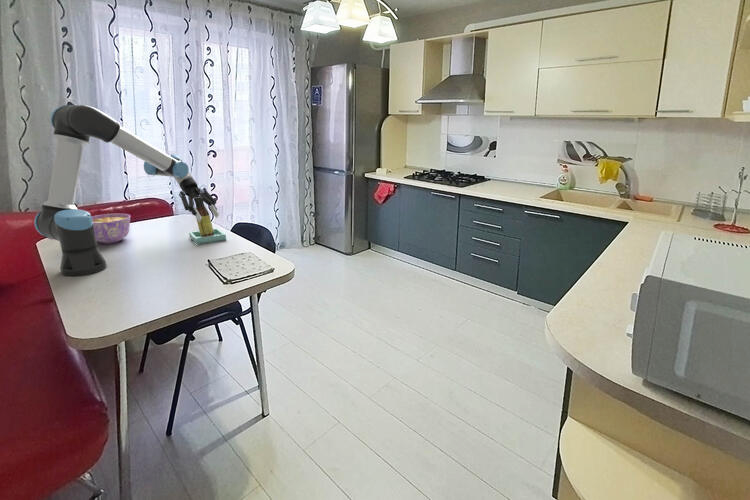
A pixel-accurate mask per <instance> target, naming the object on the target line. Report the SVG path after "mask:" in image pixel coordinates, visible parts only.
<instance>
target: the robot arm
mask: <svg viewBox="0 0 750 500" xmlns="http://www.w3.org/2000/svg"><path fill="white" fill-rule="evenodd" d="M50 123H51V125H52V127H53V129H54V130H53V137H54V138H55V139H56V141H57V142H56V148H55V155H54V161H53V165H52V166H53V168H52V174H51V179H50V184H49V192H48V197H47V198H48V199H47V200H46V201H45V202H42V205H41V210H40V211H39V212H38V213H37V214H36V215H35V217H34V220H33V221H34V222H33V223H34V227H35V230H36V231H37V232H38V233H39V234H40V235H41V236H43V237H44V238H47V239H49V240H55V241H58V242H59V244H60V249H61V252H62V253H61V254H62V255H61V261H60V266H59V269H60V273H61V275H62V276H66V277H79V276H87V275H92V274H95V273H98V272H100V271H103V270H105V269H106V268H107V261H106V259H105V257H104V256H103V254H102V253H101V250H99V248H98V241H96V236H95V231H94V226H93V220H92V217H91V216H92V215H91V213H90V212H89V211H87V210H84V209H78V207H77V206H76V204H75V201H76V196H77V191H78V184H79V178H80V177H79V176H80V171H81V165H82V160H83V159H82V157H83V152H84V147H85V146H87V145H88V144H89V143H90V137H91V138H96V139H97V140H101V141H102V142H104V143H107V144H109V143H111V144H113V145H115V146H117V147H118V148H119V149H120V148H121V149H122V150H124V151H126V152H127V153H129V154H131V155H133V156H135V157H137V158H138V159H141V160H142V161H144V162H143V170H144V172H145V174H147V175H148V176H162V177H170V178H171V177H173V179H174V180H175V182H176V183H177V185H178V186H179V187H180V189H181V190H180V191H179V194H178V196H179V197H180V199H181V201H182V204H183V207H184V210H185V211H188V212H191V214H192V216H194V217H195V219H196V218H197V219H196V221H197V220H198V221H199V222H200V221H201V219H202V217H201V215H200V214H199V212H198V211H197V209H196V207H194V198H196V197H203V203H204V204H206V205H208V206H209V209H210V211H211V213H212V214H213V215H214V217H215V219H218V217H220V213H219V212H218V208H217V207H216V204H217V200H216V199H215V198H214V197H213V196H212V195H211V194H210V192H208V191H207V188H205V187H203V188H200V187H199V186H198V183H197V182H196V180H195V179H194V178H193V175H192V174H191V172H190V171H189V170H190V169H189V166H188V164H187V163H186V162H185V161H183V159H181V158H180V156H179V155H178V154H171V155H170V154H169V155H168V154H166V153H165V152H164V151H162V150H160V149H159V148H157V147H156V146H153V145H152V144H150V143H149V142H147V141H146V140H143V139H142V138H140V137H139V136H137V135H135V133H132V132H131V131H129V130H128V129H126V128H124V127H122V126H121V123H120V122H119V121H117V120H115V119H114V118H113V117H111V116H109V115H108V114H106V113H105V112H102V111H101V110H99V109H97V108H95V107H93V106H90V105H85V104H77V105H76V104H64V105H60V106H58V107H57V108H55V109H54V110H53V111H52V112H51V115H50ZM187 197H188V198H187Z"/></svg>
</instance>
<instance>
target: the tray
mask: <svg viewBox="0 0 750 500" xmlns="http://www.w3.org/2000/svg"><path fill="white" fill-rule="evenodd" d="M213 233H214V235H213V236H208V237H201V235H200V231H199V230H196V231H189V232H188V235H189V239H190V238H191V239H192V240H193V241H194V242H195V243H196V244H199V245H204V244H203V243H205V244H210V243H209V242H212V243H217V242H216V241H218V242H222V241H221V240H225V241H227V235H226V233H224V232H223V231H222V230H220V229H219V228H213ZM191 239H190V240H191ZM192 240H191V241H192ZM193 241H192V242H193ZM194 242H193V243H194ZM195 243H194V244H195ZM196 244H195V245H196Z"/></svg>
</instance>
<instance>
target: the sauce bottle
mask: <svg viewBox="0 0 750 500" xmlns="http://www.w3.org/2000/svg"><path fill="white" fill-rule="evenodd" d="M193 202H194V204H195V208H196V209H197V211H198V212H199V214H200V215H201V217H202V219H201V221H200V222H199V221H198V220H197V218H196V217H195V220H196V222H197V226H198V231H200V235H201V237H208V236H213V235H214V233H213V229H214V227H213V224H212V221H211V216H210V213H209V211H208V210H207V208H206V206H205V202H204V201H203V197H196V198H193Z"/></svg>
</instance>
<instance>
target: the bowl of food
mask: <svg viewBox="0 0 750 500" xmlns="http://www.w3.org/2000/svg"><path fill="white" fill-rule="evenodd" d="M91 217H92V220H93V226H94V231H95V236H96V241H97V243H101V244H106V245H107V244H115V243H118V242H121V240H123V239H124V238H126V237H127V236H128V235H129V233H130V223H131V215H130V214H128V213H106V214H105V213H103V214H98V215H93V216H92V215H91Z"/></svg>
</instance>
